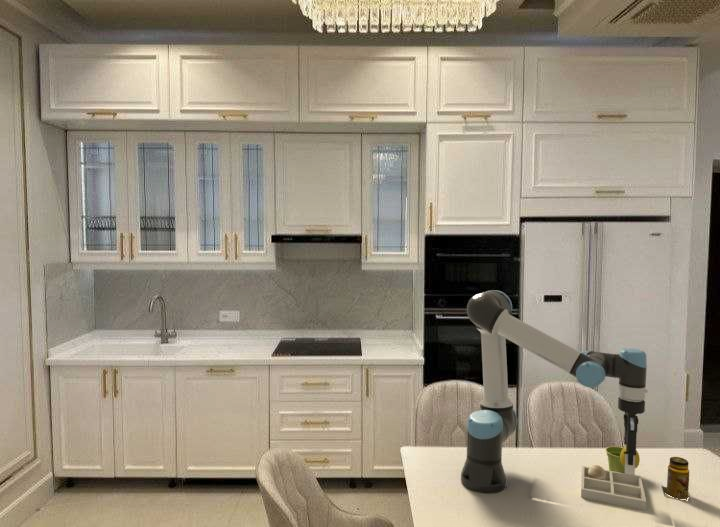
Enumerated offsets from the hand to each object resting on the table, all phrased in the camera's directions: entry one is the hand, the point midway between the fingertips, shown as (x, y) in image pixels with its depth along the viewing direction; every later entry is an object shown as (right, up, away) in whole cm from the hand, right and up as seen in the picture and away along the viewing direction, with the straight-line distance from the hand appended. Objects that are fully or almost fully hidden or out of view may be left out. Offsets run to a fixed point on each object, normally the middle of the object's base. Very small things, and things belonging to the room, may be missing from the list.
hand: (628, 469), depth 165 cm
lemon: (0, 0, 0) cm, 0 cm away
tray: (-2, -10, +6) cm, 12 cm away
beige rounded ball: (-5, -9, +12) cm, 16 cm away
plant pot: (+6, -10, +19) cm, 22 cm away
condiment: (+18, -11, +6) cm, 22 cm away
